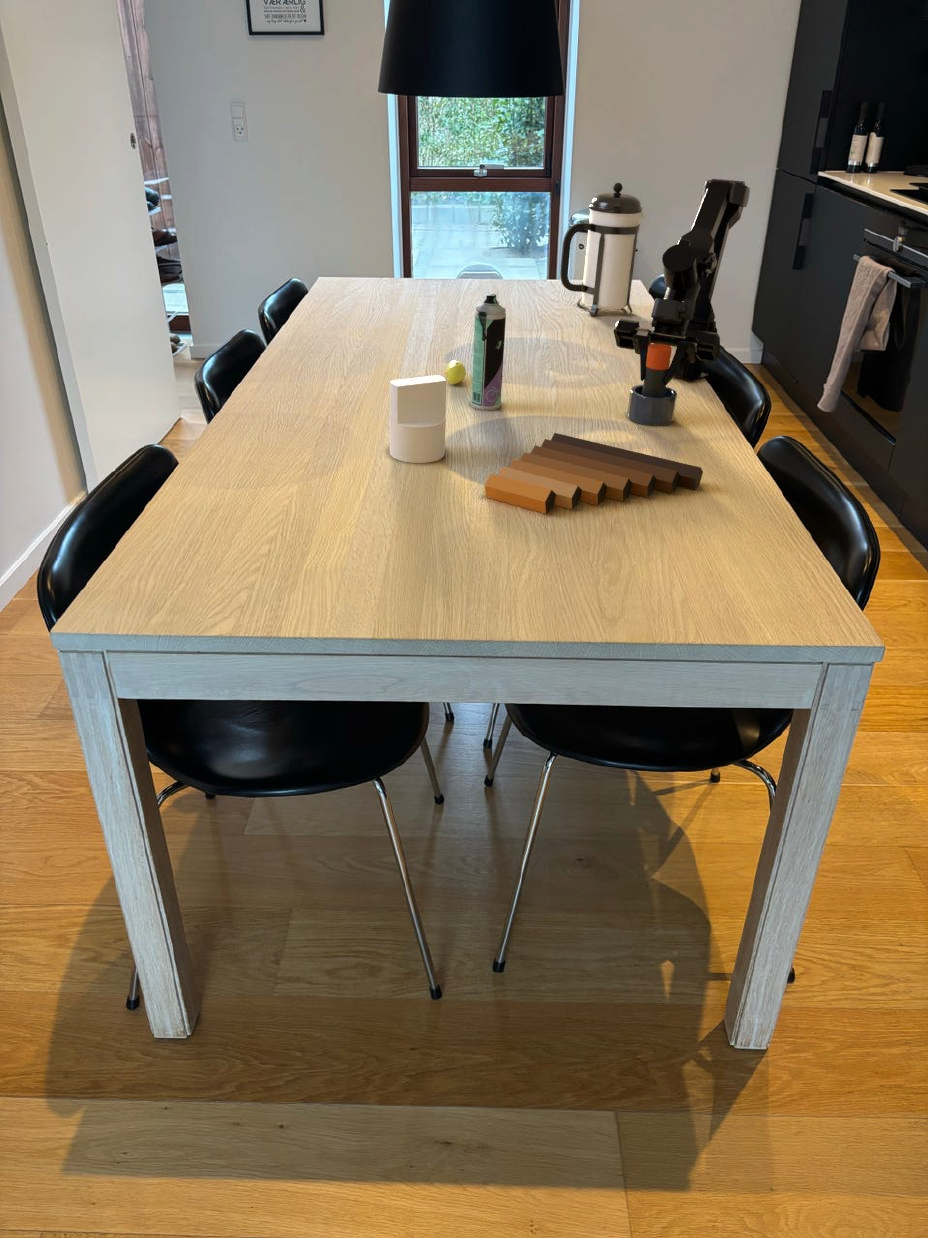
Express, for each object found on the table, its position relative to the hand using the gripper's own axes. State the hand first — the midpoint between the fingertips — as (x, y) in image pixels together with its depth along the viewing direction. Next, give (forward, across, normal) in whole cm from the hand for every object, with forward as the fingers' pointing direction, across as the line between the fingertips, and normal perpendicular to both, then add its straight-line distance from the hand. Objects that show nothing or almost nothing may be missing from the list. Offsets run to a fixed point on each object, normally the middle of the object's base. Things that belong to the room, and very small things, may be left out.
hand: (653, 381), depth 172 cm
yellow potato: (+3, -40, +7) cm, 41 cm away
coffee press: (-48, -32, +58) cm, 82 cm away
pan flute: (+31, +1, -20) cm, 37 cm away
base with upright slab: (+30, -29, -20) cm, 46 cm away
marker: (+4, 0, +6) cm, 7 cm away
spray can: (+11, -29, 0) cm, 31 cm away
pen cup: (+4, 0, +6) cm, 7 cm away
